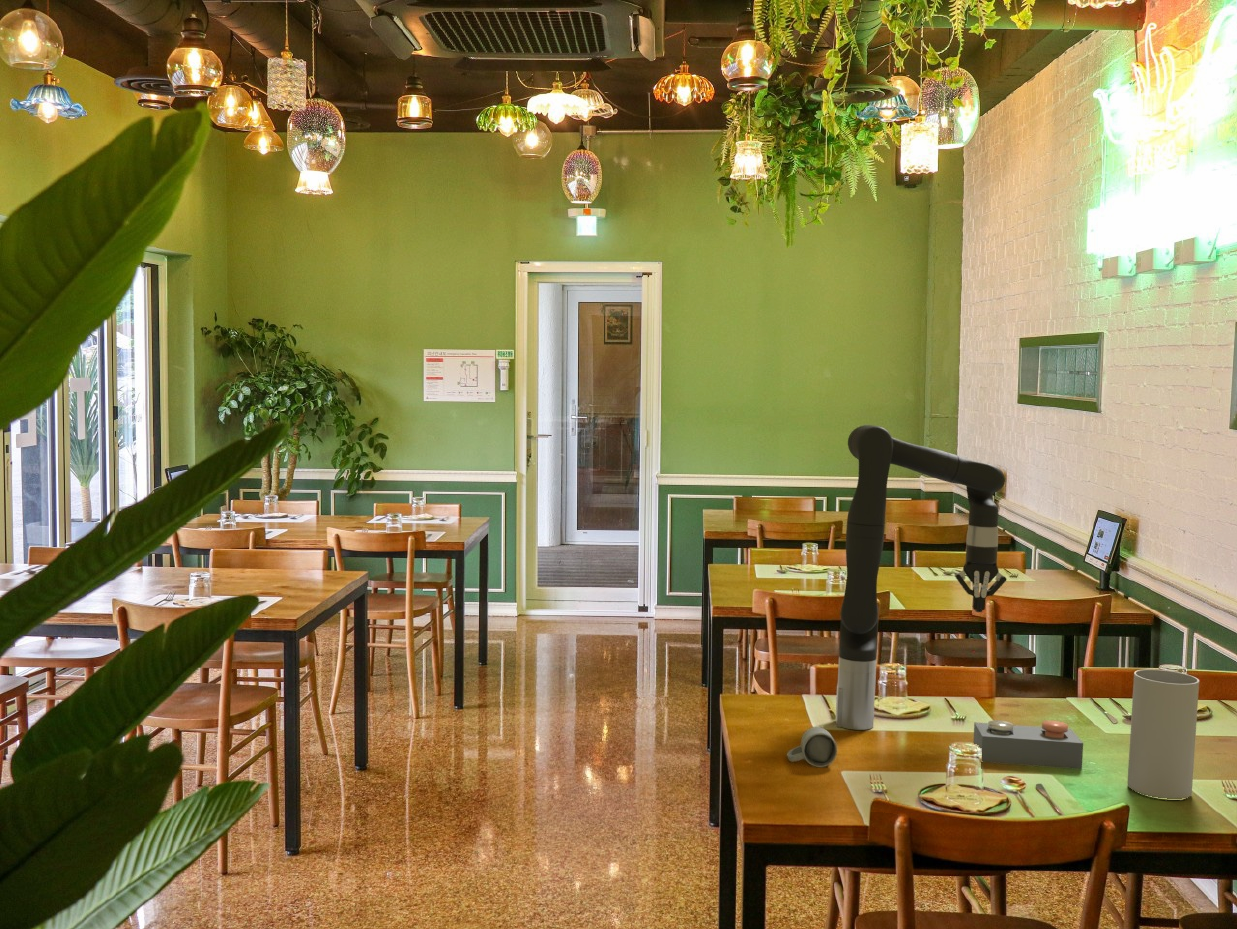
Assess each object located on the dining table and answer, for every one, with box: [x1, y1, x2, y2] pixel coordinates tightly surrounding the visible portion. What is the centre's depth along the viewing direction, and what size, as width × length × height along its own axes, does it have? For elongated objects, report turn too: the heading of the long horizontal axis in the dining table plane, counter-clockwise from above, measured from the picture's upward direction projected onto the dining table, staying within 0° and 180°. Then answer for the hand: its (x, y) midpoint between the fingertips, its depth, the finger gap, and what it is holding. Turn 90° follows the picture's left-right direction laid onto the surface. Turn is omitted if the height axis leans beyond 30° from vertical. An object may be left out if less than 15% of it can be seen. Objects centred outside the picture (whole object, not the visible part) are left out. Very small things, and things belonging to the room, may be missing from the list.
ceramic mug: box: [786, 726, 838, 768], centre depth 259 cm, size 11×8×8 cm
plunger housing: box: [973, 721, 1084, 770], centre depth 265 cm, size 22×11×6 cm, turn 82°
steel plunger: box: [987, 719, 1015, 734], centre depth 266 cm, size 6×6×6 cm
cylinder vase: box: [1127, 668, 1200, 799], centre depth 244 cm, size 12×12×25 cm
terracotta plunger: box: [1041, 719, 1069, 738], centre depth 264 cm, size 6×6×6 cm
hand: (978, 611), depth 289 cm, fingers closed
